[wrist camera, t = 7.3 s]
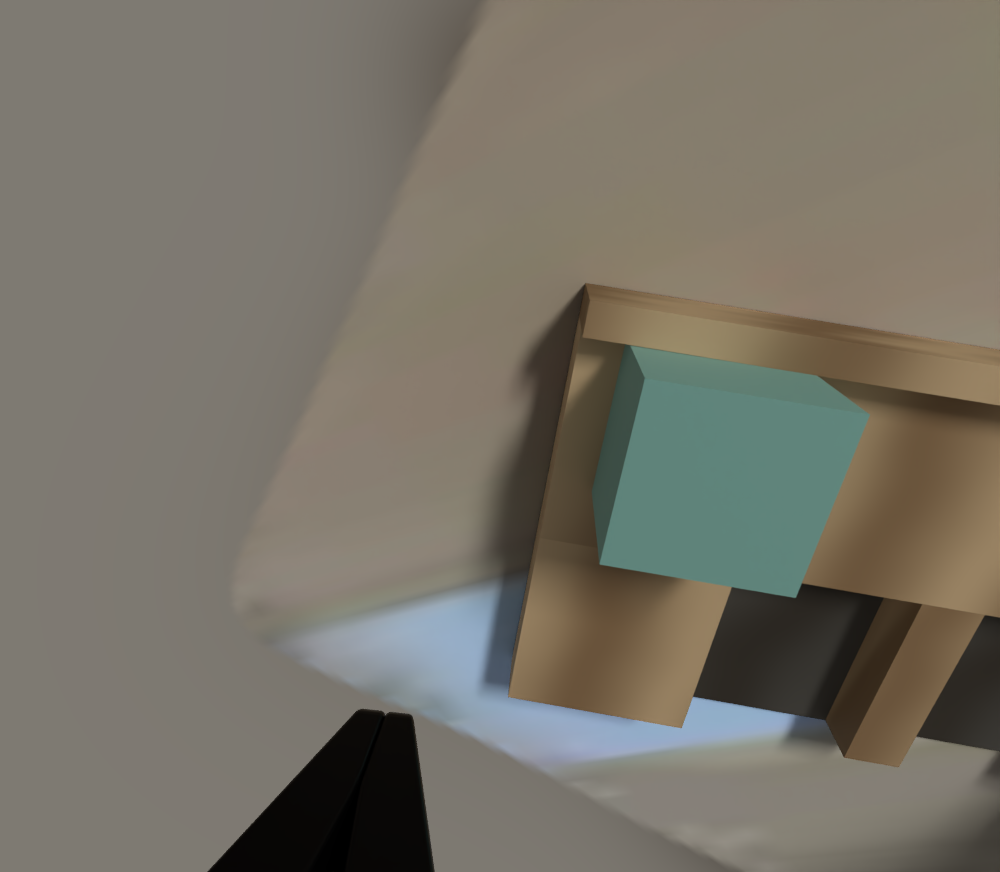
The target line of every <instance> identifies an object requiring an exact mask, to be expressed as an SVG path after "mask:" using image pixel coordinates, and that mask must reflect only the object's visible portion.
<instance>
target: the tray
mask: <svg viewBox="0 0 1000 872" xmlns="http://www.w3.org/2000/svg"><path fill="white" fill-rule="evenodd" d="M625 344H627V345H633V346H639V347H645V348H651V349H657V350H663V351H670V352H676V353H682V354H688V355H694V356H700V357H706V358H712V359H718V360H725V361H731V362H737V363H743V364H749V365H755V366H761V367H767V368H773V369H780V370H786V371H792V372H798V373H804V374H810V375H816V376H818V377H820V378H821V379H822V380H824V381H825V382H826V383H828V384H829V385H830V386H832V387H833V388H834V389H836V390H837V391H839V392H840V393H841V394H843V395H844V396H845V397H847V398H848V399H849V400H851V401H852V402H853V403H855V404H856V405H858V406H859V407H860V408H862V409H863V410H864V411H866V412H867V413H868V414H870V416H869V419H868V421H867V423H866V426H865V428H864V431H863V433H862V436H861V438H860V441H859V443H858V446H857V448H856V451H855V453H854V456H853V458H852V460H851V463H850V465H849V468H848V470H847V473H846V475H845V478H844V480H843V483H842V485H841V488H840V490H839V493H838V495H837V498H836V500H835V502H834V505H833V507H832V510H831V512H830V515H829V517H828V520H827V522H826V525H825V527H824V530H823V532H822V535H821V537H820V539H819V542H818V544H817V547H816V549H815V552H814V554H813V557H812V559H811V562H810V564H809V567H808V569H807V572H806V574H805V576H804V579H803V581H802V584H801V586H800V589H799V591H798V594H797V596H796V598H793V597H787V596H781V595H775V594H769V593H764V592H758V591H752V590H746V589H740V588H734V587H728V586H723V585H717V584H711V583H705V582H699V581H693V580H687V579H682V578H676V577H670V576H664V575H658V574H652V573H646V572H641V571H635V570H629V569H623V568H617V567H611V566H605V565H600V564H599V556H598V546H597V537H596V528H595V518H594V509H593V500H592V488H593V484H594V479H595V475H596V470H597V466H598V462H599V457H600V453H601V448H602V444H603V439H604V435H605V431H606V426H607V422H608V417H609V413H610V408H611V404H612V400H613V395H614V391H615V386H616V382H617V378H618V373H619V369H620V364H621V360H622V355H623V351H624V347H625ZM508 697H511V698H517V699H522V700H528V701H533V702H539V703H545V704H550V705H556V706H561V707H567V708H572V709H578V710H583V711H589V712H595V713H600V714H606V715H611V716H617V717H622V718H628V719H633V720H639V721H644V722H650V723H656V724H661V725H667V726H672V727H678V728H682V726H683V723H684V720H685V717H686V714H687V712H688V709H689V706H690V703H691V700H692V698H693V697H699V698H705V699H710V700H716V701H721V702H727V703H733V704H738V705H744V706H749V707H755V708H761V709H766V710H772V711H777V712H783V713H789V714H794V715H800V716H805V717H811V718H817V719H822V720H826V722H827V724H828V726H829V728H830V730H831V732H832V734H833V736H834V738H835V740H836V742H837V744H838V746H839V748H840V750H841V752H842V754H843V756H844V758H850V759H855V760H861V761H867V762H872V763H878V764H883V765H889V766H894V767H899V766H900V764H901V762H902V761H903V759H904V757H905V755H906V754H907V752H908V750H909V748H910V746H911V745H912V743H913V741H914V739H915V738H916V736H917V737H923V738H929V739H934V740H940V741H945V742H951V743H957V744H962V745H968V746H973V747H979V748H984V749H990V750H996V751H1000V350H997V349H990V348H984V347H978V346H972V345H966V344H959V343H953V342H947V341H941V340H935V339H928V338H922V337H916V336H910V335H903V334H897V333H891V332H885V331H879V330H872V329H866V328H860V327H854V326H848V325H841V324H835V323H829V322H823V321H817V320H810V319H804V318H798V317H792V316H786V315H779V314H773V313H767V312H761V311H755V310H748V309H742V308H736V307H730V306H724V305H717V304H711V303H705V302H699V301H693V300H686V299H680V298H674V297H668V296H662V295H655V294H649V293H643V292H637V291H631V290H624V289H618V288H612V287H606V286H600V285H593V284H587V283H585V288H584V293H583V298H582V303H581V309H580V314H579V319H578V324H577V329H576V334H575V339H574V344H573V349H572V355H571V360H570V365H569V370H568V375H567V380H566V385H565V390H564V395H563V401H562V406H561V411H560V416H559V421H558V426H557V431H556V436H555V441H554V446H553V452H552V457H551V462H550V467H549V472H548V477H547V482H546V487H545V492H544V498H543V503H542V508H541V513H540V518H539V523H538V528H537V533H536V538H535V543H534V549H533V554H532V559H531V564H530V569H529V574H528V579H527V584H526V589H525V595H524V600H523V605H522V610H521V615H520V620H519V625H518V630H517V635H516V641H515V646H514V651H513V656H512V663H511V673H510V683H509V694H508Z"/></svg>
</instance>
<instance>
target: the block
mask: <svg viewBox="0 0 1000 872" xmlns="http://www.w3.org/2000/svg"><path fill="white" fill-rule="evenodd" d="M869 416H870V414H868V413H867V412H866V411H864V410H863V409H862V408H860V407H859V406H858V405H856V404H855V403H853V402H852V401H851V400H849V399H848V398H847V397H845V396H844V395H843V394H841V393H840V392H839V391H837V390H836V389H834V388H833V387H832V386H830V385H829V384H828V383H826V382H825V381H824V380H822V379H821V378H820V377H818V376H816V375H810V374H804V373H798V372H792V371H786V370H780V369H773V368H767V367H761V366H755V365H749V364H743V363H737V362H731V361H725V360H718V359H712V358H706V357H700V356H694V355H688V354H682V353H676V352H670V351H663V350H657V349H651V348H645V347H639V346H633V345H627V344H625V347H624V351H623V355H622V360H621V364H620V369H619V373H618V378H617V382H616V386H615V391H614V395H613V400H612V404H611V408H610V413H609V417H608V422H607V426H606V431H605V435H604V439H603V444H602V448H601V453H600V457H599V462H598V466H597V470H596V475H595V479H594V484H593V488H592V500H593V509H594V518H595V528H596V537H597V546H598V556H599V564H600V565H605V566H611V567H617V568H623V569H629V570H635V571H641V572H646V573H652V574H658V575H664V576H670V577H676V578H682V579H687V580H693V581H699V582H705V583H711V584H717V585H723V586H728V587H734V588H740V589H746V590H752V591H758V592H764V593H769V594H775V595H781V596H787V597H793V598H796V596H797V594H798V591H799V589H800V586H801V584H802V581H803V579H804V576H805V574H806V572H807V569H808V567H809V564H810V562H811V559H812V557H813V554H814V552H815V549H816V547H817V544H818V542H819V539H820V537H821V535H822V532H823V530H824V527H825V525H826V522H827V520H828V517H829V515H830V512H831V510H832V507H833V505H834V502H835V500H836V498H837V495H838V493H839V490H840V488H841V485H842V483H843V480H844V478H845V475H846V473H847V470H848V468H849V465H850V463H851V460H852V458H853V456H854V453H855V451H856V448H857V446H858V443H859V441H860V438H861V436H862V433H863V431H864V428H865V426H866V423H867V421H868V419H869Z"/></svg>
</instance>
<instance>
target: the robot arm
mask: <svg viewBox="0 0 1000 872" xmlns="http://www.w3.org/2000/svg"><path fill="white" fill-rule="evenodd" d="M208 872H435V871H434V864H433V856H432V849H431V842H430V835H429V828H428V820H427V813H426V806H425V799H424V792H423V784H422V777H421V770H420V763H419V756H418V748H417V741H416V734H415V727H414V720H413V717H412V715H410V714H405V713H396V712H389V713H387V714H386V716H385V714H384V712H382V711H378V710H368V709H360V710H358V711H356V712H355V713H354V714H353V716H351V718H350V719H349V720H348V721H347V722H346V723H345V724H344V725H343V726H342V727H341V728H340V729H339V730H338V732H337V733H336V734H335V735H334V736H333V737H332V738H331V739H330V740H329V742H327V743H326V745H325V746H324V747H323V748H322V749H321V750H320V751H319V752H318V753H317V754H316V755H315V756H314V757H313V759H312V760H311V761H310V762H309V763H308V764H307V765H306V766H305V767H304V768H303V769H302V771H300V773H299V774H298V775H297V776H296V777H295V778H294V779H293V780H292V781H291V782H290V783H289V784H288V785H287V787H286V788H285V789H284V790H283V791H282V792H281V793H280V794H279V795H278V796H277V797H276V798H275V800H274V801H273V802H272V803H271V804H270V805H269V806H268V807H267V808H266V809H265V810H264V811H263V812H262V813H261V815H260V816H259V817H258V818H257V819H256V820H255V821H254V822H253V823H252V824H251V825H250V827H249V828H248V829H247V830H246V831H245V832H244V833H243V834H242V835H241V836H240V837H239V839H237V840H236V842H235V843H234V844H233V845H232V846H231V847H230V848H229V849H228V850H227V851H226V852H225V853H224V854H223V856H222V857H221V858H220V859H219V860H218V861H217V862H216V863H215V864H214V865H213V866H212V867H211V868H210V870H209V871H208Z"/></svg>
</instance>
